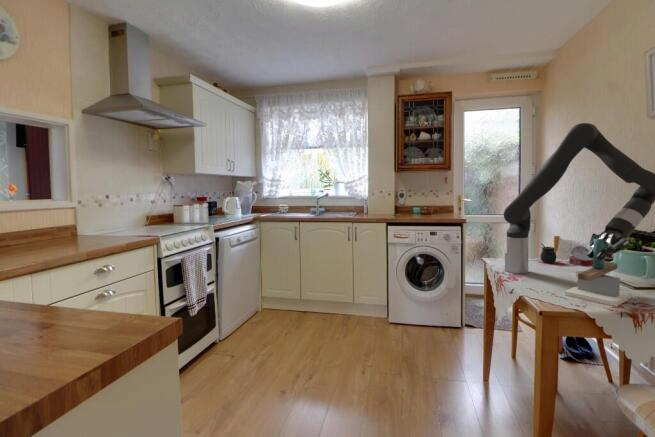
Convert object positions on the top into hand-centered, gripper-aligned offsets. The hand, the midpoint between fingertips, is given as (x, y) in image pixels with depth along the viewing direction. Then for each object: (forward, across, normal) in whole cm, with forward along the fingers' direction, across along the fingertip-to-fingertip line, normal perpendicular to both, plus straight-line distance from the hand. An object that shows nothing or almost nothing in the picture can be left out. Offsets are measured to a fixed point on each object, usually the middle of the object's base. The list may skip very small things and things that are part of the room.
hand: (593, 257), depth 126 cm
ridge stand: (+9, 0, +12) cm, 15 cm away
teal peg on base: (+3, 0, +6) cm, 7 cm away
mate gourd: (-5, -49, +26) cm, 56 cm away
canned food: (-13, -42, +35) cm, 56 cm away
